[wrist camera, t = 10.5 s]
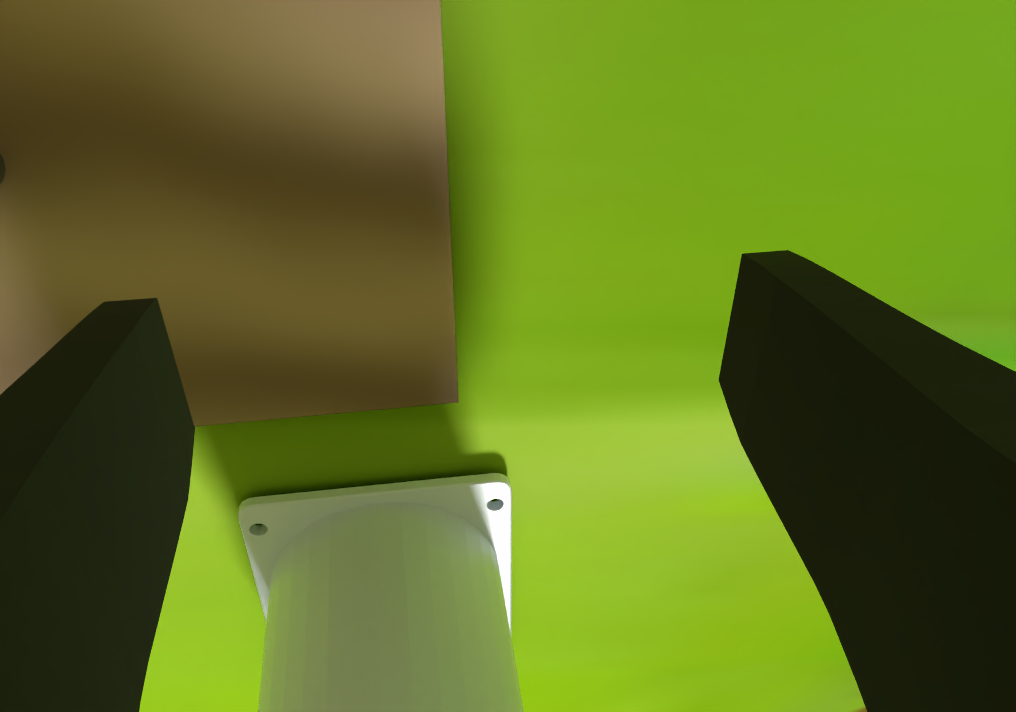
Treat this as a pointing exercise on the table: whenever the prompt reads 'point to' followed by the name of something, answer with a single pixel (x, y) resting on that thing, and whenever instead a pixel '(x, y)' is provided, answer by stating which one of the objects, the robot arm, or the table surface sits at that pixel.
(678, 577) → the table surface
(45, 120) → the stake board
